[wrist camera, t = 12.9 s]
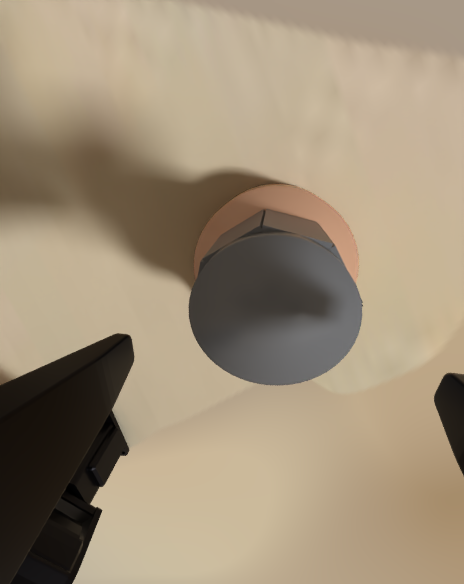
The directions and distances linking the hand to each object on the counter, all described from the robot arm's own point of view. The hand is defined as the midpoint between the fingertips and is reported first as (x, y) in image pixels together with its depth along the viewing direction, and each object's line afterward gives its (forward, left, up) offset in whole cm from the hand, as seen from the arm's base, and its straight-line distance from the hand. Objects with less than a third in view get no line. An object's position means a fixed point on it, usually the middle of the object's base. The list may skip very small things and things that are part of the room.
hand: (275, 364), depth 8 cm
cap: (0, 0, -8) cm, 8 cm away
